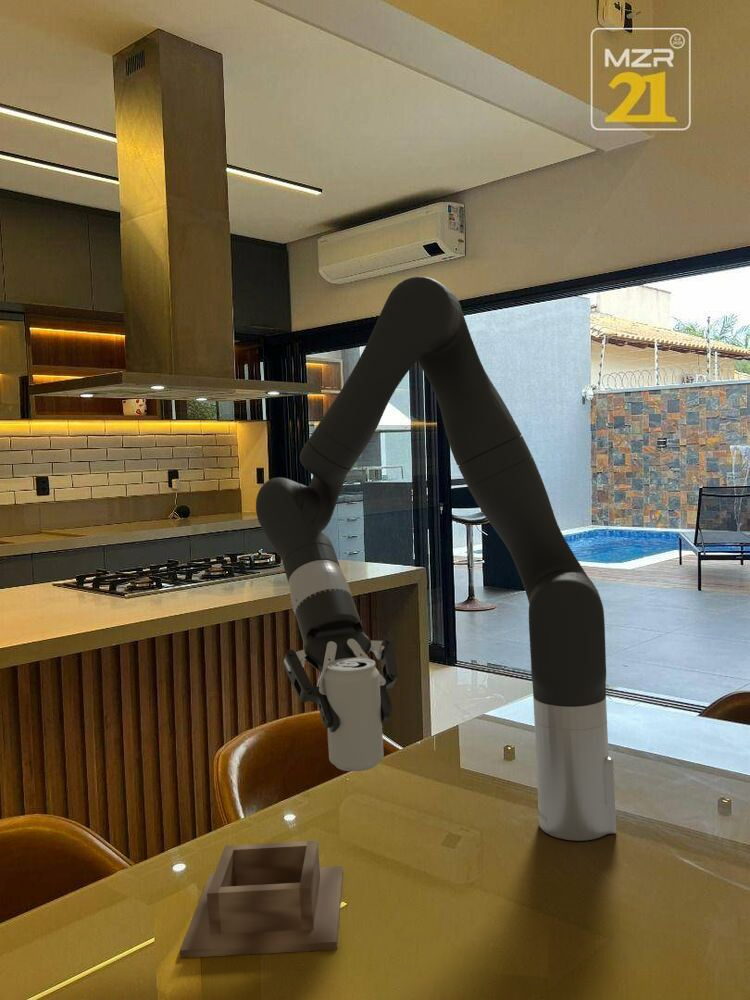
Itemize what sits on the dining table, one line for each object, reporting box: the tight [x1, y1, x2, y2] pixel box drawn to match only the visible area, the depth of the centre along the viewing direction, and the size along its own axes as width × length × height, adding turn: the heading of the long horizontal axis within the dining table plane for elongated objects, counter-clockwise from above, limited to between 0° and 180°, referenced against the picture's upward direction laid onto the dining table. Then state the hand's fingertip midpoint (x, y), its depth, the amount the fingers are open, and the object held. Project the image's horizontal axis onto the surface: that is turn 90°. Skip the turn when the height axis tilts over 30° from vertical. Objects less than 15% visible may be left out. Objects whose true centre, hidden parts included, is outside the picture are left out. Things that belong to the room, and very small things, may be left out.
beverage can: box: [324, 658, 385, 772], centre depth 101 cm, size 6×6×12 cm
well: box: [179, 840, 344, 959], centre depth 96 cm, size 16×16×5 cm
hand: (361, 723), depth 99 cm, fingers closed on beverage can, 5 cm apart
